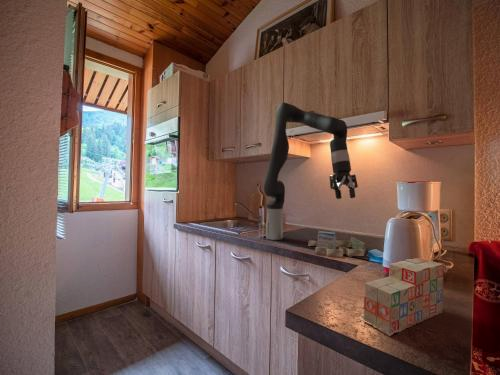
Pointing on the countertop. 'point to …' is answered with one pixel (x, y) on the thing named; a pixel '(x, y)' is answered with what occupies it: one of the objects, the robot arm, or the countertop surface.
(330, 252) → the frame
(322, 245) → the medicine box
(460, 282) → the countertop surface
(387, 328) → the stack of blocks
